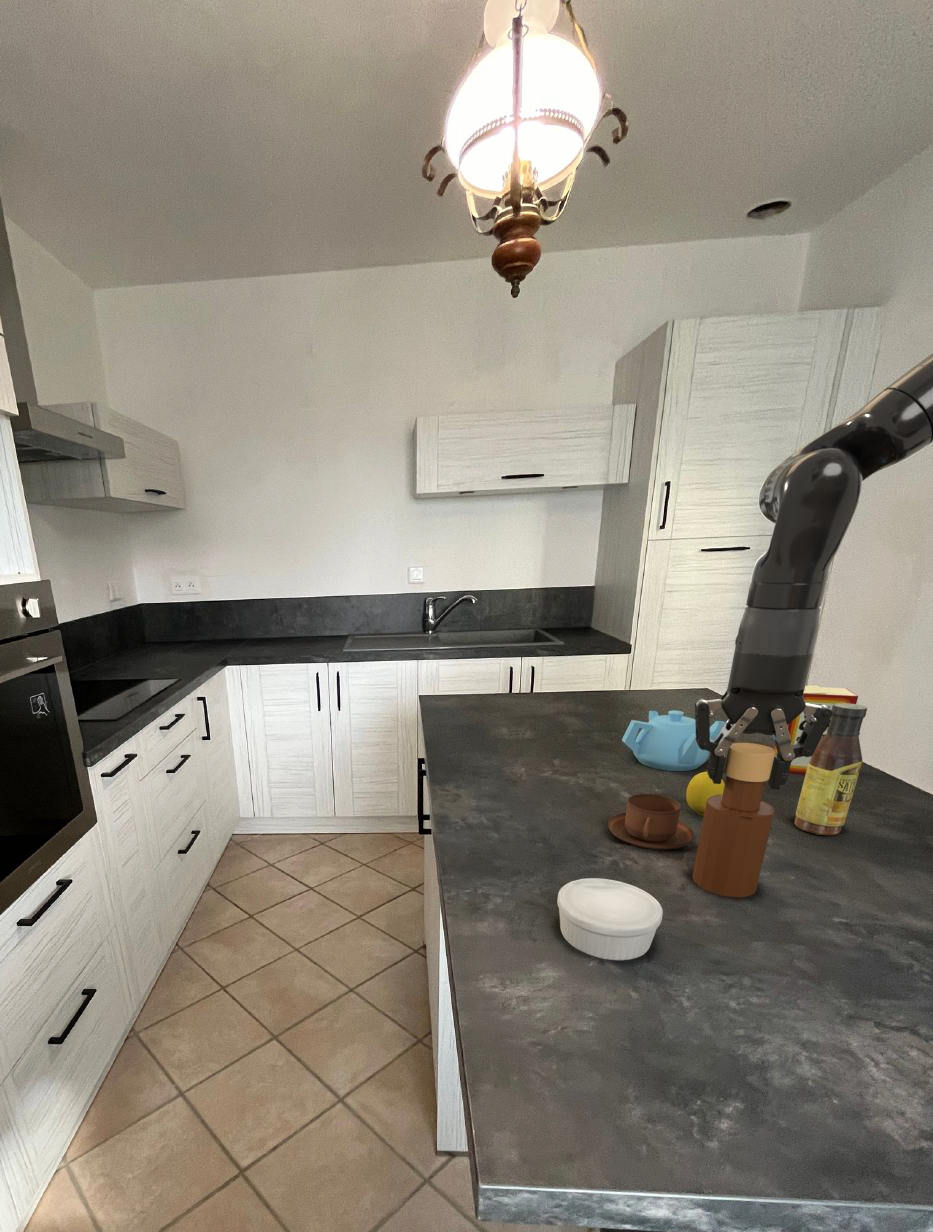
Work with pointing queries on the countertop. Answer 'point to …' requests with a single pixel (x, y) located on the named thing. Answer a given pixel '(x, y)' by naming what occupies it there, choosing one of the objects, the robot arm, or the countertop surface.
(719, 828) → the brown bottle
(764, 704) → the robot arm
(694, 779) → the lemon
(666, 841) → the cup and saucer
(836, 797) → the sauce bottle
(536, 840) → the countertop surface
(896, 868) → the countertop surface
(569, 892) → the ramekin
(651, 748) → the teapot
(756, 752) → the bung
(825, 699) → the baking soda box
